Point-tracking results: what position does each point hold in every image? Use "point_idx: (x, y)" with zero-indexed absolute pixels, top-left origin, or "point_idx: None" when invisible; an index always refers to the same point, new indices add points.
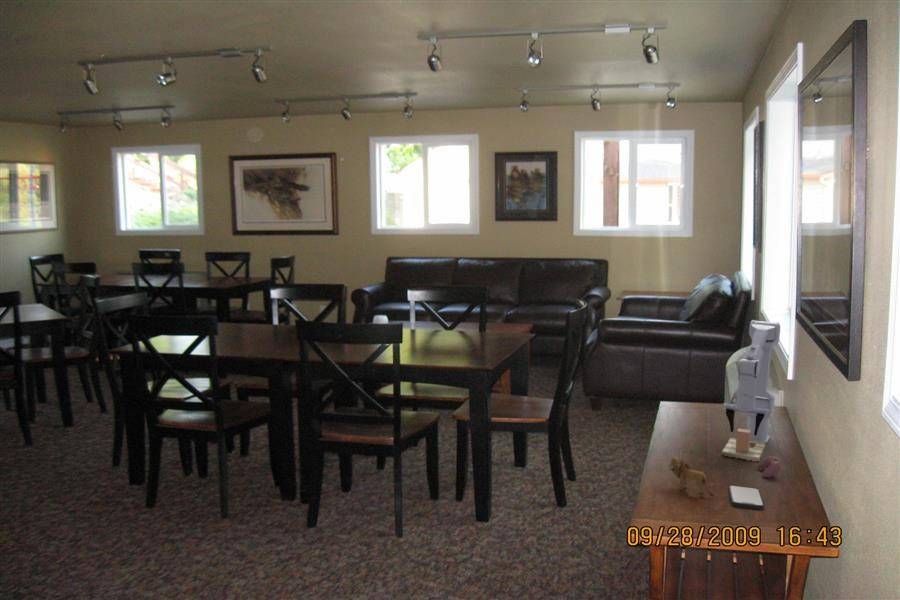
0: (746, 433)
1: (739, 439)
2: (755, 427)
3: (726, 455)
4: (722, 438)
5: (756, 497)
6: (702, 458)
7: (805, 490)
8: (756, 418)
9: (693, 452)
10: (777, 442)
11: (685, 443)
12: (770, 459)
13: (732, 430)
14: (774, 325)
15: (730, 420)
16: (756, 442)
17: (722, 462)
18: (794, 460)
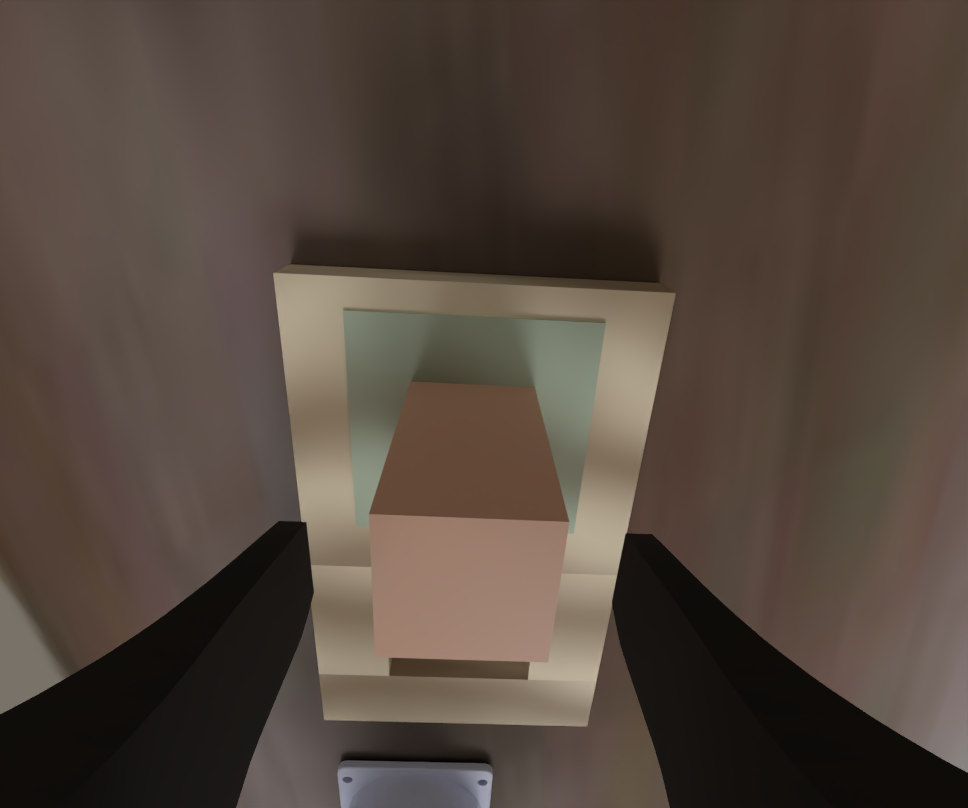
0: (415, 504)
1: (511, 452)
2: (233, 604)
3: (615, 284)
4: (635, 736)
5: None
6: (888, 59)
7: None
8: (44, 795)
9: (945, 262)
10: (285, 799)
11: (955, 512)
12: None
13: (637, 545)
14: None
15: (770, 675)
16: (389, 704)
17: (659, 8)
18: (39, 483)
